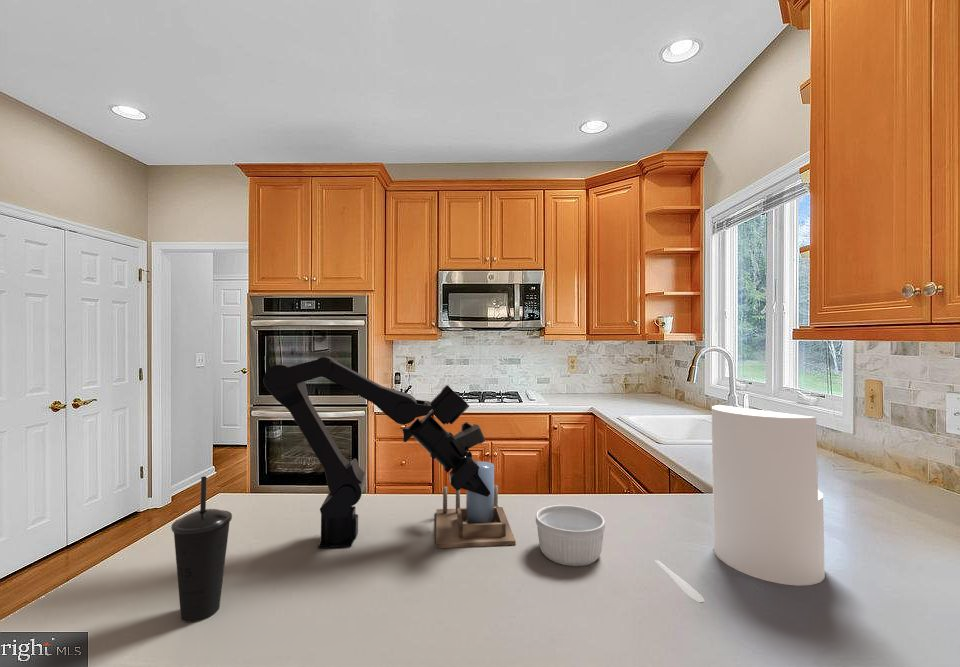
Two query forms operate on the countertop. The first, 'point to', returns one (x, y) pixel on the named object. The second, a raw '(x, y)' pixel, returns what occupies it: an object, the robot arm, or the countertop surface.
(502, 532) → the drying rack
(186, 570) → the drinking cup
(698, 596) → the butter knife
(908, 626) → the countertop surface
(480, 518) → the pale blue pillar candle
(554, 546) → the ramekin
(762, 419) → the cylinder
